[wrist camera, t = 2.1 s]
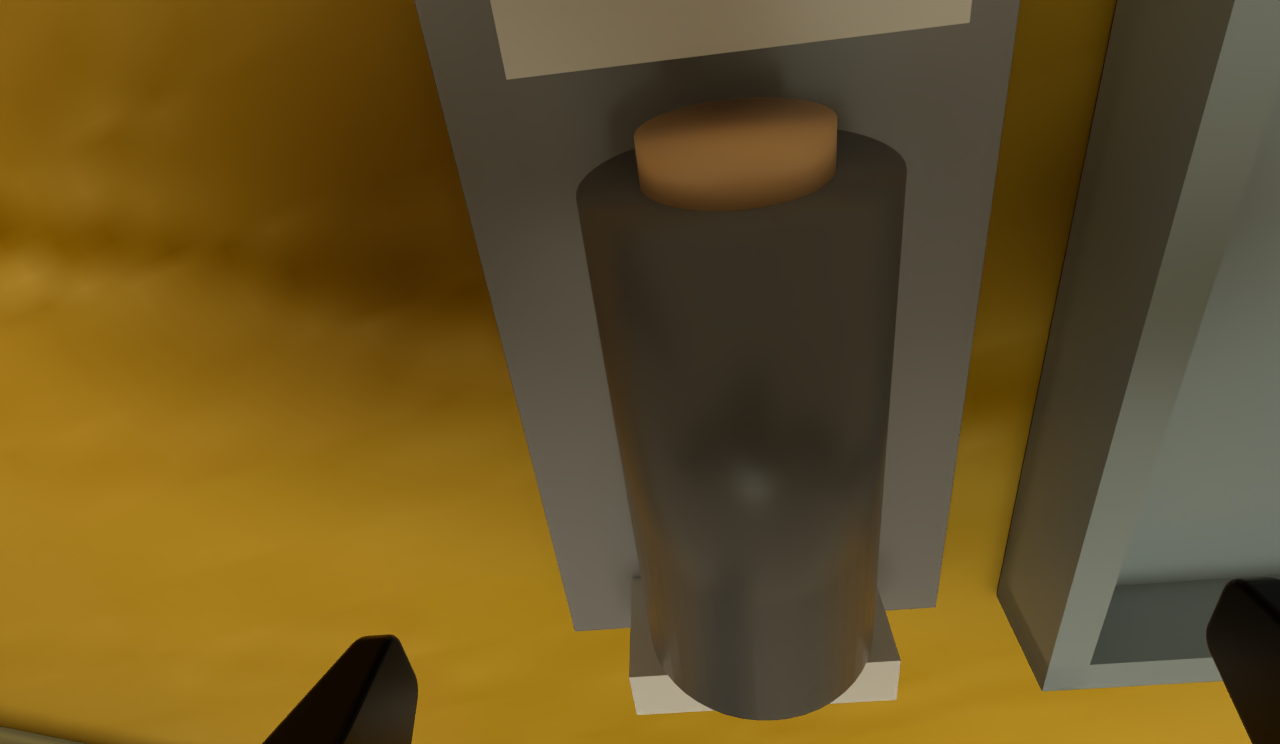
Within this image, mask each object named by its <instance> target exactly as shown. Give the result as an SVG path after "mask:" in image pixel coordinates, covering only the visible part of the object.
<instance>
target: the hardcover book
mask: <svg viewBox="0 0 1280 744" xmlns="http://www.w3.org/2000/svg"><path fill="white" fill-rule="evenodd" d="M0 744H85V743H80V742H75V741H70V740H65V739H60V738H55V737H50V736H45V735H40V734H35V733H30V732H26V731H21V730H16V729H11V728H6V727H1V726H0Z"/></svg>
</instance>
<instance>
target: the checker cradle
mask: <svg viewBox="0 0 1280 744" xmlns="http://www.w3.org/2000/svg"><path fill="white" fill-rule="evenodd" d="M414 1H415V5H416V8H417V12H418V16H419V20H420V24H421V28H422V32H423V36H424V40H425V44H426V48H427V52H428V56H429V59H430V63H431V67H432V71H433V75H434V79H435V83H436V87H437V91H438V95H439V99H440V103H441V107H442V111H443V114H444V118H445V122H446V126H447V130H448V134H449V138H450V142H451V146H452V150H453V154H454V158H455V162H456V165H457V169H458V173H459V177H460V181H461V185H462V189H463V193H464V197H465V201H466V205H467V209H468V213H469V217H470V220H471V224H472V228H473V232H474V236H475V240H476V244H477V248H478V252H479V256H480V260H481V264H482V268H483V271H484V275H485V279H486V283H487V287H488V291H489V295H490V299H491V303H492V307H493V311H494V315H495V319H496V323H497V326H498V330H499V334H500V338H501V342H502V346H503V350H504V354H505V358H506V362H507V366H508V370H509V374H510V378H511V381H512V385H513V389H514V393H515V397H516V401H517V405H518V409H519V413H520V417H521V421H522V425H523V429H524V432H525V436H526V440H527V444H528V448H529V452H530V456H531V460H532V464H533V468H534V472H535V476H536V480H537V484H538V487H539V491H540V495H541V499H542V503H543V507H544V511H545V515H546V519H547V523H548V527H549V531H550V535H551V538H552V542H553V546H554V550H555V554H556V558H557V562H558V566H559V570H560V574H561V578H562V582H563V586H564V590H565V593H566V597H567V601H568V605H569V609H570V613H571V617H572V621H573V625H574V629H575V631H587V630H602V629H617V628H631V633H630V669H629V679H630V684H631V688H632V693H633V698H634V703H635V708H636V713H637V715H645V714H662V713H679V712H696V711H713V709H710V708H708V707H706V706H704V705H703V704H701V703H699V702H697V701H696V700H694V699H693V698H691V697H690V696H688V695H687V694H686V693H684V692H683V691H682V690H681V689H680V688H679V687H678V686H677V685H676V684H675V683H674V682H673V681H672V680H671V678H670V677H669V676H668V675H667V674H666V672H665V671H664V669H663V667H662V666H661V664H660V662H659V660H658V658H657V655H656V653H655V650H654V647H653V643H652V638H651V633H650V627H649V621H648V615H647V609H646V604H645V598H644V592H643V586H642V580H641V574H640V569H639V563H638V557H637V551H636V545H635V540H634V534H633V528H632V522H631V516H630V510H629V505H628V499H627V493H626V487H625V481H624V475H623V470H622V464H621V458H620V452H619V446H618V441H617V435H616V429H615V423H614V417H613V411H612V406H611V400H610V394H609V388H608V382H607V376H606V371H605V365H604V359H603V353H602V347H601V342H600V336H599V330H598V324H597V318H596V312H595V307H594V301H593V295H592V289H591V283H590V277H589V272H588V266H587V260H586V254H585V248H584V243H583V237H582V231H581V225H580V219H579V213H578V208H577V202H576V191H577V189H578V186H579V184H580V183H581V181H582V180H583V179H584V177H585V176H586V175H587V174H588V173H590V172H591V171H592V170H593V169H594V168H596V167H597V166H599V165H600V164H602V163H603V162H605V161H607V160H609V159H611V158H612V157H615V156H617V155H619V154H621V153H623V152H626V151H628V150H631V149H633V148H635V143H634V134H635V131H636V130H637V129H638V128H639V127H640V126H641V125H642V124H644V123H645V122H647V121H648V120H650V119H652V118H654V117H656V116H659V115H661V114H664V113H666V112H669V111H672V110H676V109H679V108H683V107H686V106H690V105H695V104H700V103H705V102H711V101H718V100H725V99H735V98H748V97H783V98H794V99H802V100H807V101H812V102H816V103H819V104H822V105H824V106H827V107H829V108H830V109H832V110H833V111H834V112H835V113H836V115H837V129H838V130H844V131H849V132H853V133H858V134H861V135H864V136H868V137H871V138H874V139H876V140H878V141H881V142H883V143H885V144H887V145H888V146H890V147H892V148H893V149H895V150H896V151H897V152H898V153H899V154H900V155H901V156H902V158H903V159H904V161H905V162H906V167H907V179H906V193H905V206H904V220H903V233H902V247H901V260H900V274H899V287H898V301H897V314H896V328H895V341H894V355H893V368H892V382H891V395H890V409H889V422H888V436H887V449H886V463H885V476H884V490H883V504H882V517H881V531H880V544H879V558H878V571H877V585H876V598H875V612H874V625H873V637H872V646H871V650H870V654H869V657H868V660H867V662H866V664H865V666H864V669H863V671H862V672H861V674H860V675H859V677H858V678H857V679H856V681H855V682H854V683H853V684H852V685H851V686H850V687H849V688H848V690H847V691H846V692H845V693H843V694H842V695H841V696H839V697H838V698H837V699H835V700H834V701H833V702H831V703H829V704H833V703H850V702H867V701H885V700H896V699H897V689H898V680H899V671H900V662H901V660H900V657H899V654H898V651H897V648H896V644H895V641H894V638H893V635H892V632H891V629H890V625H889V622H888V619H887V616H886V613H885V610H900V609H915V608H930V607H936V601H937V594H938V586H939V579H940V572H941V565H942V558H943V551H944V543H945V536H946V529H947V522H948V515H949V508H950V500H951V493H952V486H953V479H954V472H955V464H956V457H957V450H958V443H959V436H960V429H961V421H962V414H963V407H964V400H965V393H966V386H967V378H968V371H969V364H970V357H971V350H972V343H973V335H974V328H975V321H976V314H977V307H978V300H979V292H980V285H981V278H982V271H983V264H984V257H985V249H986V242H987V235H988V228H989V221H990V214H991V206H992V199H993V192H994V185H995V178H996V170H997V163H998V156H999V149H1000V142H1001V135H1002V127H1003V120H1004V113H1005V106H1006V99H1007V92H1008V84H1009V77H1010V70H1011V63H1012V56H1013V49H1014V41H1015V34H1016V27H1017V20H1018V13H1019V6H1020V0H414Z"/></svg>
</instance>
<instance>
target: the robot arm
mask: <svg viewBox="0 0 1280 744" xmlns="http://www.w3.org/2000/svg"><path fill="white" fill-rule="evenodd" d="M1206 641H1207V645H1208V649H1209V652H1210V654H1211V656H1212V658H1213V661H1214V663H1215V665H1216V667H1217V669H1218V671H1219V673H1220V676H1221V678H1222V680H1223V682H1224V684H1225V686H1226V689H1227V691H1228V693H1229V695H1230V697H1231V699H1232V701H1233V704H1234V706H1235V708H1236V710H1237V712H1238V714H1239V716H1240V719H1241V721H1242V723H1243V725H1244V727H1245V729H1246V732H1247V734H1248V736H1249V738H1250V740H1251V742H1252V744H1280V579H1278V578H1275V577H1268V576H1262V577H1247V578H1235V579H1232V580H1230V581H1229V582H1227V583H1226V585H1225V586H1224V588H1223V590H1222V592H1221V595H1220V597H1219V599H1218V602H1217V604H1216V606H1215V608H1214V611H1213V613H1212V615H1211V618H1210V620H1209V622H1208V624H1207V628H1206ZM417 699H418V684H417V679H416V676H415V673H414V671H413V669H412V667H411V665H410V662H409V660H408V658H407V656H406V654H405V651H404V649H403V647H402V645H401V643H400V641H399V639H398V638H397V637H395V636H394V635H374V636H365V637H361V638H359V639H358V640H356V641H355V642H354V643H353V644H352V645H351V646H350V647H349V648H348V649H347V650H346V651H345V653H344V654H343V655H342V656H341V657H340V658H339V659H338V660H337V661H336V662H335V664H334V665H333V666H332V667H331V668H330V669H329V670H328V671H327V672H326V674H325V675H324V676H323V677H322V678H321V679H320V680H319V681H318V682H317V683H316V685H315V686H314V687H313V688H312V689H311V690H310V691H309V692H308V693H307V695H306V696H305V697H304V698H303V699H302V700H301V701H300V702H299V703H298V704H297V706H296V707H295V708H294V709H293V710H292V711H291V712H290V713H289V714H288V716H287V717H286V718H285V719H284V720H283V721H282V722H281V723H280V724H279V725H278V727H277V728H276V729H275V730H274V731H273V732H272V733H271V734H270V735H269V737H268V738H267V739H266V740H265V741H264V742H263V743H262V744H411V742H412V735H413V728H414V721H415V713H416V706H417Z"/></svg>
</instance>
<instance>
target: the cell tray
mask: <svg viewBox="0 0 1280 744" xmlns="http://www.w3.org/2000/svg"><path fill="white" fill-rule="evenodd" d="M1262 576H1268V577H1275V578H1278V579H1280V0H1117V5H1116V9H1115V14H1114V19H1113V24H1112V29H1111V34H1110V39H1109V44H1108V49H1107V54H1106V59H1105V64H1104V69H1103V74H1102V79H1101V83H1100V88H1099V93H1098V98H1097V103H1096V108H1095V113H1094V118H1093V123H1092V128H1091V133H1090V138H1089V143H1088V148H1087V153H1086V157H1085V162H1084V167H1083V172H1082V177H1081V182H1080V187H1079V192H1078V197H1077V202H1076V207H1075V212H1074V217H1073V222H1072V227H1071V232H1070V236H1069V241H1068V246H1067V251H1066V256H1065V261H1064V266H1063V271H1062V276H1061V281H1060V286H1059V291H1058V296H1057V301H1056V306H1055V310H1054V315H1053V320H1052V325H1051V330H1050V335H1049V340H1048V345H1047V350H1046V355H1045V360H1044V365H1043V370H1042V375H1041V380H1040V384H1039V389H1038V394H1037V399H1036V404H1035V409H1034V414H1033V419H1032V424H1031V429H1030V434H1029V439H1028V444H1027V449H1026V454H1025V459H1024V463H1023V468H1022V473H1021V478H1020V483H1019V488H1018V493H1017V498H1016V503H1015V508H1014V513H1013V518H1012V523H1011V528H1010V533H1009V537H1008V542H1007V547H1006V552H1005V557H1004V562H1003V567H1002V572H1001V577H1000V582H999V587H998V592H997V597H998V600H999V602H1000V604H1001V606H1002V608H1003V610H1004V612H1005V614H1006V616H1007V619H1008V621H1009V623H1010V625H1011V627H1012V629H1013V631H1014V633H1015V635H1016V637H1017V640H1018V642H1019V644H1020V646H1021V648H1022V650H1023V652H1024V654H1025V656H1026V658H1027V661H1028V663H1029V665H1030V667H1031V669H1032V671H1033V673H1034V675H1035V677H1036V680H1037V682H1038V684H1039V686H1040V688H1041V690H1042V691H1055V690H1072V689H1089V688H1107V687H1124V686H1141V685H1158V684H1175V683H1192V682H1209V681H1223V680H1222V678H1221V676H1220V673H1219V671H1218V669H1217V667H1216V665H1215V663H1214V661H1213V658H1212V656H1211V654H1210V652H1209V649H1208V645H1207V641H1206V628H1207V624H1208V622H1209V620H1210V618H1211V615H1212V613H1213V611H1214V608H1215V606H1216V604H1217V602H1218V599H1219V597H1220V595H1221V592H1222V590H1223V588H1224V586H1225V585H1226V583H1227V582H1229V581H1230V580H1232V579H1235V578H1247V577H1262Z"/></svg>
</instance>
